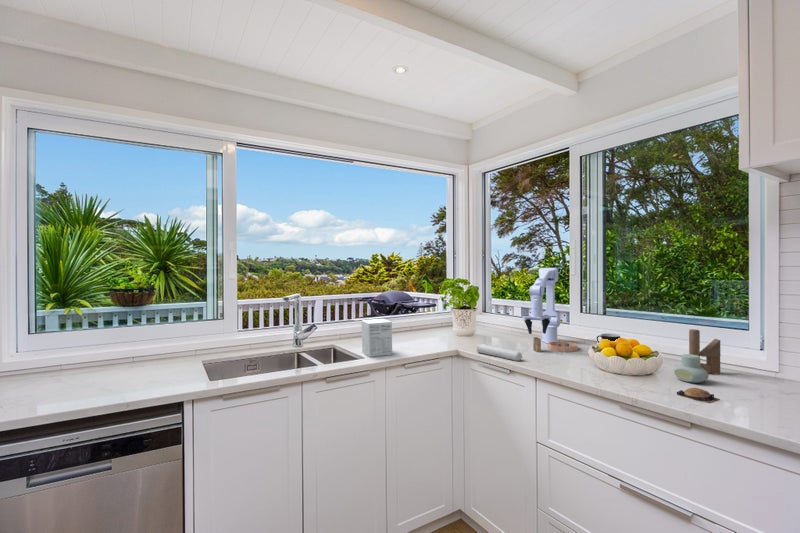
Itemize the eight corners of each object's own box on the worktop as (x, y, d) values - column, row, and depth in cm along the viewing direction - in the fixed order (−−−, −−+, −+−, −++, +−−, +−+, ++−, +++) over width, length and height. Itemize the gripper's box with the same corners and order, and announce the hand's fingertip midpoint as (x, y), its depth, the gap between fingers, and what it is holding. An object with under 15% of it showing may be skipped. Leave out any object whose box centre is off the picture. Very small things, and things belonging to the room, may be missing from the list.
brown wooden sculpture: (720, 374, 162) (720, 330, 162) (691, 373, 164) (691, 330, 164) (715, 371, 166) (715, 329, 166) (687, 371, 168) (686, 329, 168)
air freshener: (669, 378, 158) (669, 353, 158) (683, 376, 161) (683, 351, 161) (698, 386, 148) (698, 359, 147) (713, 383, 151) (713, 357, 150)
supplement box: (393, 354, 206) (392, 321, 206) (368, 357, 201) (368, 323, 201) (384, 349, 218) (384, 318, 218) (361, 352, 213) (361, 320, 213)
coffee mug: (624, 356, 194) (623, 336, 194) (606, 356, 194) (606, 336, 194) (611, 351, 206) (611, 332, 205) (595, 351, 206) (595, 332, 206)
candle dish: (543, 346, 221) (543, 340, 221) (569, 345, 222) (569, 340, 222) (555, 352, 206) (555, 346, 206) (583, 351, 207) (583, 345, 207)
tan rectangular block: (533, 350, 211) (533, 337, 211) (537, 350, 211) (536, 337, 211) (537, 352, 206) (537, 339, 206) (540, 352, 206) (540, 338, 206)
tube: (524, 352, 191) (483, 344, 210) (518, 350, 187) (477, 342, 207) (522, 363, 190) (481, 354, 209) (516, 361, 186) (475, 352, 206)
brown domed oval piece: (721, 401, 134) (721, 390, 134) (707, 405, 130) (707, 394, 130) (687, 392, 143) (687, 382, 143) (673, 395, 139) (673, 385, 139)
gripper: (526, 309, 204) (526, 335, 204) (553, 308, 205) (553, 334, 205) (521, 307, 211) (521, 332, 211) (547, 306, 212) (547, 332, 212)
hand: (537, 333), depth 209 cm, fingers open, 7 cm apart
